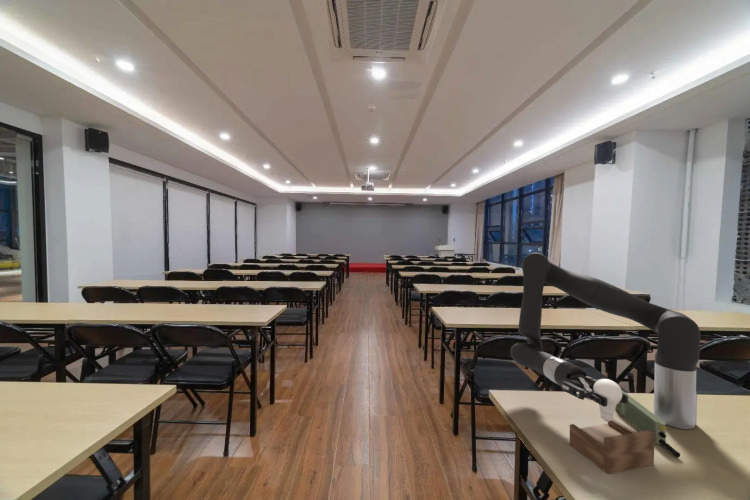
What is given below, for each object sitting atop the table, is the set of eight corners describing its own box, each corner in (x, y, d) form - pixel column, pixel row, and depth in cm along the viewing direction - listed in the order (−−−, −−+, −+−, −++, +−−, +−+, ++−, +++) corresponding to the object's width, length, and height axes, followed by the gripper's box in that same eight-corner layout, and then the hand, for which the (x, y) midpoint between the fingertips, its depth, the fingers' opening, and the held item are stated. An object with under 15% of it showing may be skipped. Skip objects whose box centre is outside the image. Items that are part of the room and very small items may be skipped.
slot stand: (611, 437, 90) (611, 409, 90) (653, 464, 79) (654, 432, 79) (569, 444, 87) (569, 415, 86) (608, 473, 76) (608, 440, 76)
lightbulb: (588, 419, 84) (589, 379, 83) (597, 411, 88) (598, 372, 87) (616, 431, 79) (618, 388, 78) (624, 422, 83) (626, 380, 82)
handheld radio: (624, 409, 105) (685, 460, 81) (613, 408, 106) (671, 460, 81) (623, 389, 105) (685, 434, 80) (612, 388, 106) (670, 434, 81)
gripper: (543, 363, 95) (594, 389, 79) (583, 359, 98) (639, 384, 82) (543, 387, 96) (592, 419, 79) (582, 383, 99) (638, 412, 82)
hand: (616, 401), depth 81 cm, fingers closed on lightbulb, 6 cm apart
